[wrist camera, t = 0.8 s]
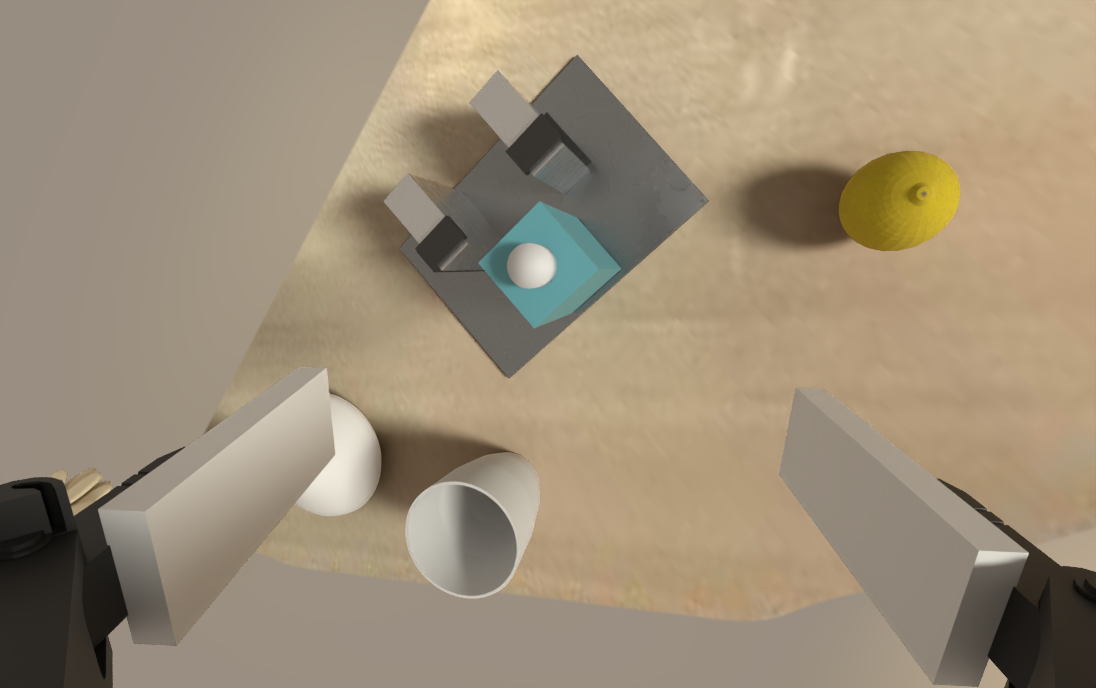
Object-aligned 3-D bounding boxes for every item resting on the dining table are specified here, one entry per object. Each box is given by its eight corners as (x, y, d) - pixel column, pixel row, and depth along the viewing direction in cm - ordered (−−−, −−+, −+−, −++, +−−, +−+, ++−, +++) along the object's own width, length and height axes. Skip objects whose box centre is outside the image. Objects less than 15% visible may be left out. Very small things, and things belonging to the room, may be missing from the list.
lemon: (812, 188, 35) (847, 166, 27) (903, 151, 33) (968, 116, 25) (841, 266, 35) (884, 265, 27) (933, 232, 33) (1006, 222, 25)
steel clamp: (578, 57, 37) (546, -6, 29) (708, 201, 36) (715, 181, 28) (401, 248, 43) (331, 244, 34) (510, 377, 42) (465, 405, 34)
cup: (448, 471, 45) (383, 526, 35) (512, 414, 43) (461, 457, 33) (508, 543, 44) (459, 619, 35) (577, 490, 42) (545, 556, 32)
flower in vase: (407, 420, 45) (93, 592, 21) (371, 527, 48) (55, 788, 24) (287, 359, 48) (-118, 453, 24) (259, 465, 50) (-130, 645, 26)
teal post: (576, 217, 38) (531, 197, 27) (621, 268, 38) (594, 269, 27) (528, 264, 39) (466, 262, 28) (571, 313, 39) (525, 331, 28)
